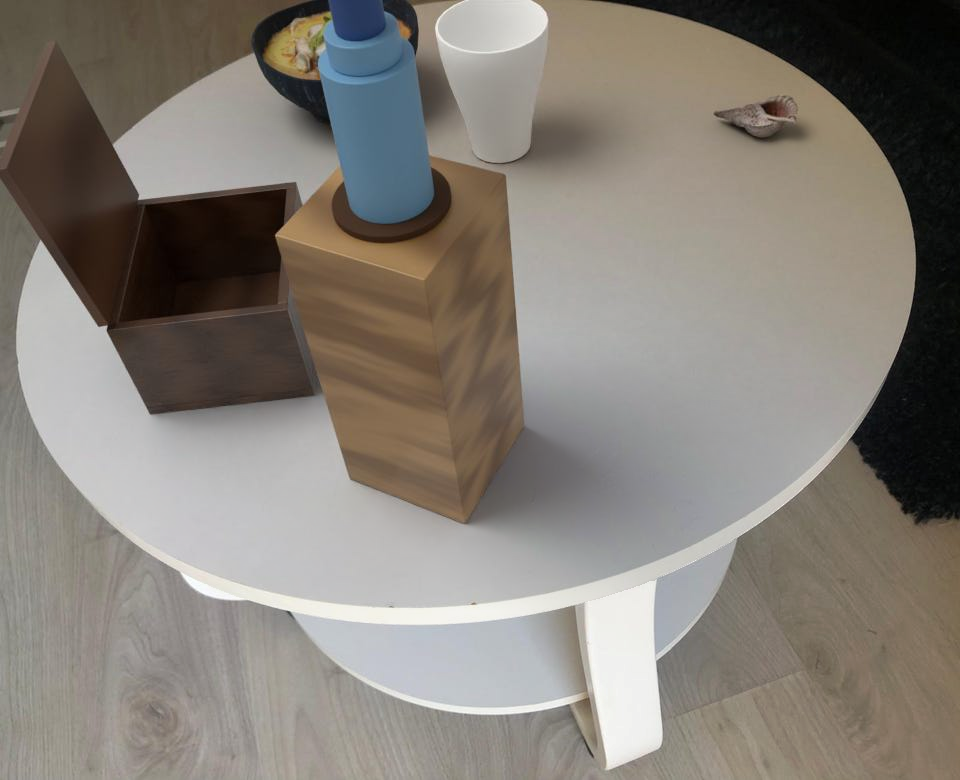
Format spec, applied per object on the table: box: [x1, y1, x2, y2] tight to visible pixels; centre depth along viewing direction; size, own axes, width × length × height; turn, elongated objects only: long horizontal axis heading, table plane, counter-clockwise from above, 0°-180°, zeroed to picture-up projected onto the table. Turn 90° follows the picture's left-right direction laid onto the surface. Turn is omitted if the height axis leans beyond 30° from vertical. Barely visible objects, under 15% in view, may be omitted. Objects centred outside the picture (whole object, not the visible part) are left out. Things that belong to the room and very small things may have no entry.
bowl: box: [250, 0, 420, 125], centre depth 105 cm, size 17×17×10 cm
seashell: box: [713, 94, 799, 138], centre depth 98 cm, size 4×8×4 cm
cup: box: [434, 0, 550, 164], centre depth 96 cm, size 10×10×14 cm
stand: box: [275, 154, 525, 525], centre depth 67 cm, size 10×10×24 cm
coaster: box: [332, 167, 452, 243], centre depth 58 cm, size 7×7×1 cm
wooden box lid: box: [0, 40, 140, 328], centre depth 73 cm, size 14×16×5 cm
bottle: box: [318, 0, 434, 224], centre depth 53 cm, size 5×5×13 cm
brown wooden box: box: [105, 181, 316, 415], centre depth 83 cm, size 14×16×10 cm
